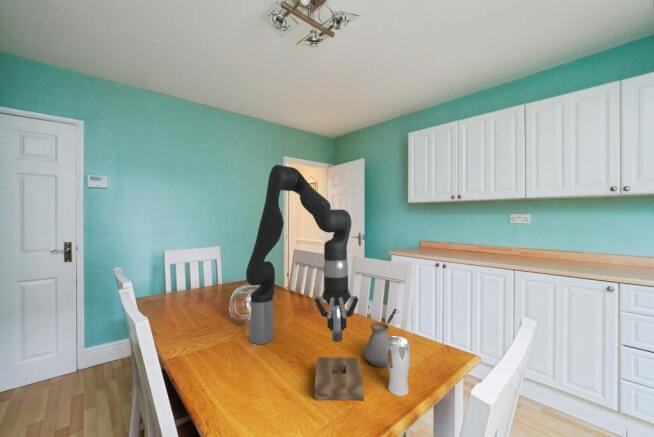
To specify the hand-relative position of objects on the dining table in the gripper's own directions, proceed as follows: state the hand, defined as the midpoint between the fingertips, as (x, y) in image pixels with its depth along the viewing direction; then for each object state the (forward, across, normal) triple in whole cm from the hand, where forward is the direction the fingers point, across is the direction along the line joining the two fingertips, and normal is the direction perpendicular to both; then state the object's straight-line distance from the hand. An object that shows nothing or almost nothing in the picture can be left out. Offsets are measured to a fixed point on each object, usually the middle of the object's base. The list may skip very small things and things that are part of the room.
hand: (337, 329), depth 85 cm
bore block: (+18, 0, +1) cm, 18 cm away
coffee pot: (+18, +18, +19) cm, 32 cm away
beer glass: (+18, +18, -1) cm, 26 cm away
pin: (+3, 0, 0) cm, 3 cm away
